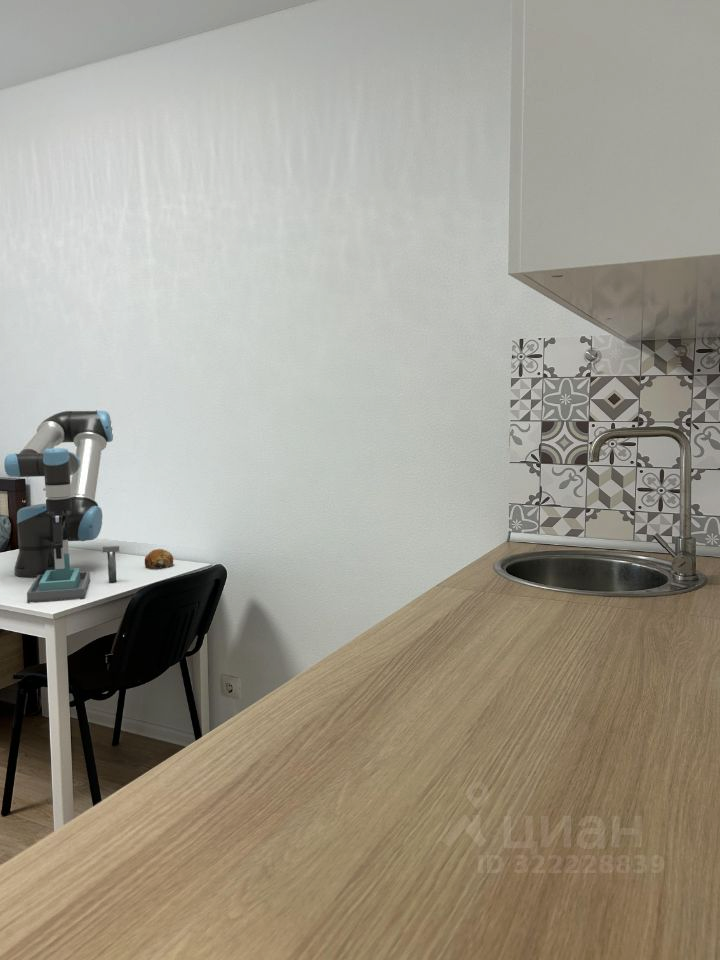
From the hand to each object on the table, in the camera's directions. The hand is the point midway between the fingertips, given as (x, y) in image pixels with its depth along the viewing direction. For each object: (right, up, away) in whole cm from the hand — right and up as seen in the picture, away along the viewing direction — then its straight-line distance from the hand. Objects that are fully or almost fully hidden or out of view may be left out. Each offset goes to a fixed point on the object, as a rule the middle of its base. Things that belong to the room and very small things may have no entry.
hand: (62, 564), depth 244 cm
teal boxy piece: (+2, -7, -6) cm, 9 cm away
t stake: (+15, -6, +4) cm, 16 cm away
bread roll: (+24, -4, +26) cm, 36 cm away
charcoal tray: (+2, -8, -7) cm, 11 cm away
